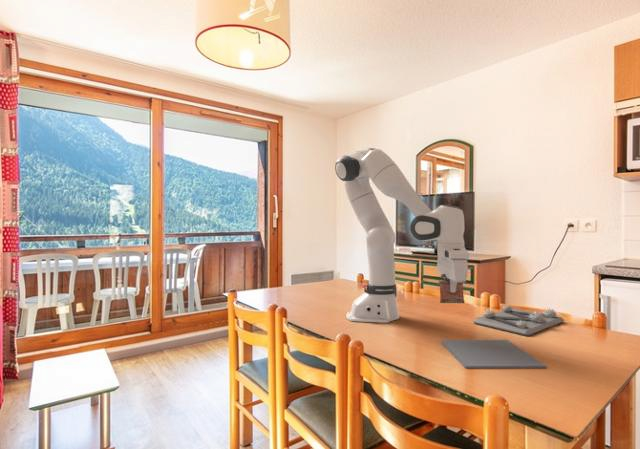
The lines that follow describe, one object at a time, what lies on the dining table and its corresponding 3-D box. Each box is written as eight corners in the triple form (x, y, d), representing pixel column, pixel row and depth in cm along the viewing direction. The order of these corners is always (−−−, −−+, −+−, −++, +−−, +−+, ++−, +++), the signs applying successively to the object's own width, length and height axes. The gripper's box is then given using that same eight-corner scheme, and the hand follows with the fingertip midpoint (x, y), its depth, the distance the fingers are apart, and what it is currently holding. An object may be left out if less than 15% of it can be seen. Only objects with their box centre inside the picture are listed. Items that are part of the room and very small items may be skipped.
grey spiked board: (510, 312, 159) (510, 296, 159) (565, 323, 142) (565, 305, 142) (471, 324, 142) (471, 306, 142) (528, 338, 124) (528, 318, 124)
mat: (465, 368, 99) (465, 366, 99) (440, 341, 121) (440, 340, 121) (546, 368, 98) (546, 365, 98) (507, 341, 120) (507, 339, 120)
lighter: (462, 302, 125) (461, 273, 126) (465, 303, 121) (463, 273, 123) (439, 302, 125) (437, 273, 127) (441, 303, 122) (439, 273, 124)
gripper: (432, 248, 135) (432, 285, 135) (451, 254, 115) (451, 297, 115) (449, 248, 135) (449, 285, 135) (471, 254, 115) (471, 297, 115)
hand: (450, 291), depth 125 cm, fingers closed on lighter, 2 cm apart
